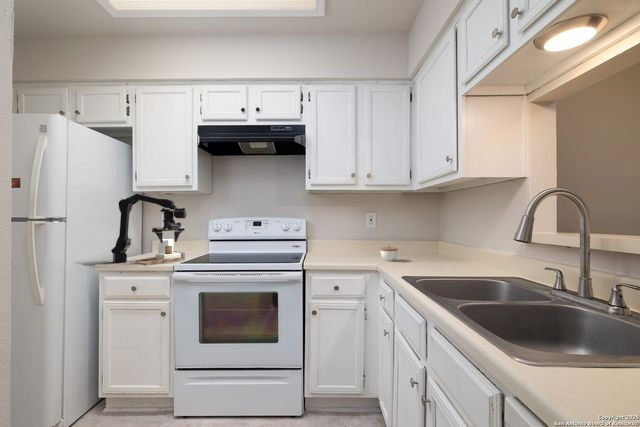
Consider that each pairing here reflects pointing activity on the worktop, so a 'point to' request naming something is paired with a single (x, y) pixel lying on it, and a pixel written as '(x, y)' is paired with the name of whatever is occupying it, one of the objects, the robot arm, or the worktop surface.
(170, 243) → the supplement box
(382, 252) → the lidded jar
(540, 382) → the worktop surface
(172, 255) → the socket block
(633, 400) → the worktop surface
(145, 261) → the rail base
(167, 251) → the dowel
